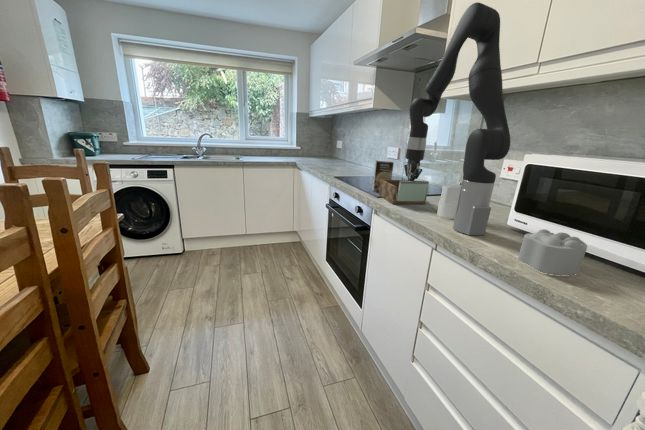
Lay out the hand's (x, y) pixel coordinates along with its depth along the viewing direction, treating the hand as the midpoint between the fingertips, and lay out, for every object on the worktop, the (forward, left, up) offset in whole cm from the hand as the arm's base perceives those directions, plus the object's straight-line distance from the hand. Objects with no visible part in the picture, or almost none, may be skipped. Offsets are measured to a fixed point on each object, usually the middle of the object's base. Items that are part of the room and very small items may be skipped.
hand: (409, 187), depth 125 cm
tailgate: (-2, 0, -6) cm, 6 cm away
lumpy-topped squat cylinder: (-61, -10, -8) cm, 63 cm away
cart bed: (+8, 0, -8) cm, 11 cm away
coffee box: (+27, +3, -8) cm, 28 cm away
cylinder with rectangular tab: (-18, -9, -8) cm, 22 cm away
